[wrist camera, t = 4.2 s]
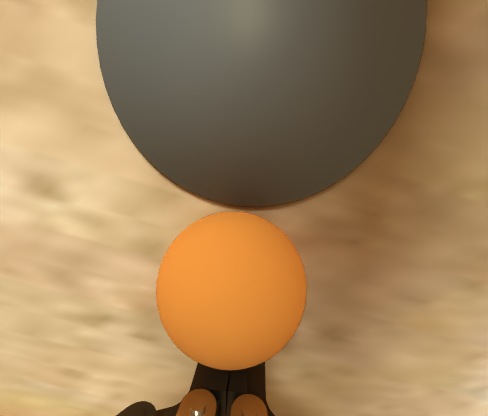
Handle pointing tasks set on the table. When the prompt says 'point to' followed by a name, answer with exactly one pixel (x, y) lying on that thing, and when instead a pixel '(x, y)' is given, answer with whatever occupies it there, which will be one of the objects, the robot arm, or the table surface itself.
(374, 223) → the table surface
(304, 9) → the dark grey flat disc
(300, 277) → the ball
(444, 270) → the table surface
